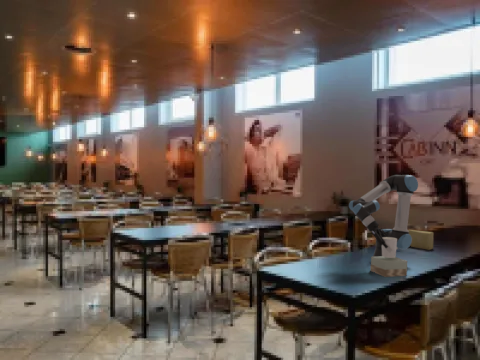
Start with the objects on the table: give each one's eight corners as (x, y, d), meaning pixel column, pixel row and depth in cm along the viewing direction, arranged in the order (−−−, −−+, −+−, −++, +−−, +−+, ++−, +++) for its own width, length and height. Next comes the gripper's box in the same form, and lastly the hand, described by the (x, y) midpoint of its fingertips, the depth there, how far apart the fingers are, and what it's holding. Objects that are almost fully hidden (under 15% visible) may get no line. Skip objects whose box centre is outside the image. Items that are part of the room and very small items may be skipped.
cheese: (404, 246, 373) (404, 229, 373) (408, 245, 380) (409, 229, 379) (428, 250, 357) (429, 232, 357) (433, 248, 364) (434, 231, 363)
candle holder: (377, 255, 272) (378, 237, 272) (388, 254, 276) (389, 236, 276) (388, 258, 263) (389, 239, 263) (400, 257, 267) (400, 239, 267)
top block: (392, 263, 279) (392, 255, 279) (407, 268, 264) (407, 261, 264) (371, 264, 276) (371, 256, 276) (384, 269, 260) (385, 261, 260)
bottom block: (391, 270, 280) (391, 263, 280) (406, 276, 264) (406, 268, 264) (370, 271, 275) (370, 264, 275) (385, 277, 260) (385, 269, 260)
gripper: (373, 225, 287) (395, 251, 277) (360, 228, 270) (383, 256, 261) (380, 218, 284) (403, 244, 274) (368, 221, 267) (392, 249, 257)
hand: (393, 250), depth 267 cm, fingers closed on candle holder, 9 cm apart
